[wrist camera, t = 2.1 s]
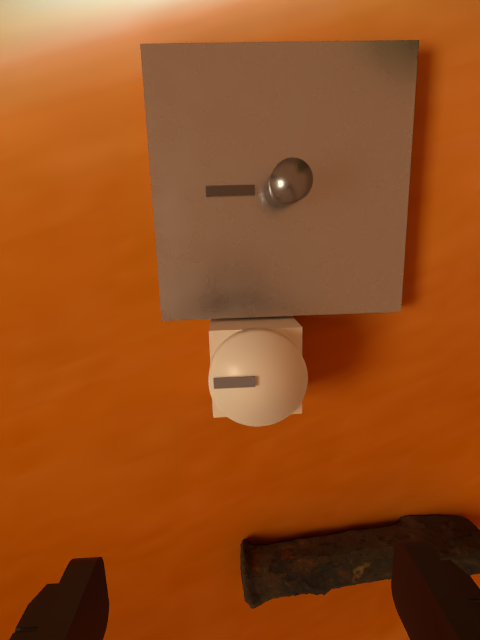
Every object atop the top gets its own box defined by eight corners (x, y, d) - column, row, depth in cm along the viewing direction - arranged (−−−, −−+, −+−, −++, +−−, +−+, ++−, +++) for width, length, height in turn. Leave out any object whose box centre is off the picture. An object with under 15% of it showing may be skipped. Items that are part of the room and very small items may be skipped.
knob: (292, 312, 25) (309, 331, 20) (292, 389, 27) (308, 425, 21) (209, 315, 25) (205, 335, 20) (213, 393, 26) (210, 430, 21)
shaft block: (406, 53, 22) (456, 0, 17) (391, 307, 26) (429, 323, 21) (145, 57, 22) (123, 3, 17) (165, 316, 25) (151, 333, 20)
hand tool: (242, 572, 30) (246, 630, 26) (237, 532, 29) (239, 586, 25) (463, 542, 31) (505, 594, 26) (464, 502, 30) (508, 549, 25)
